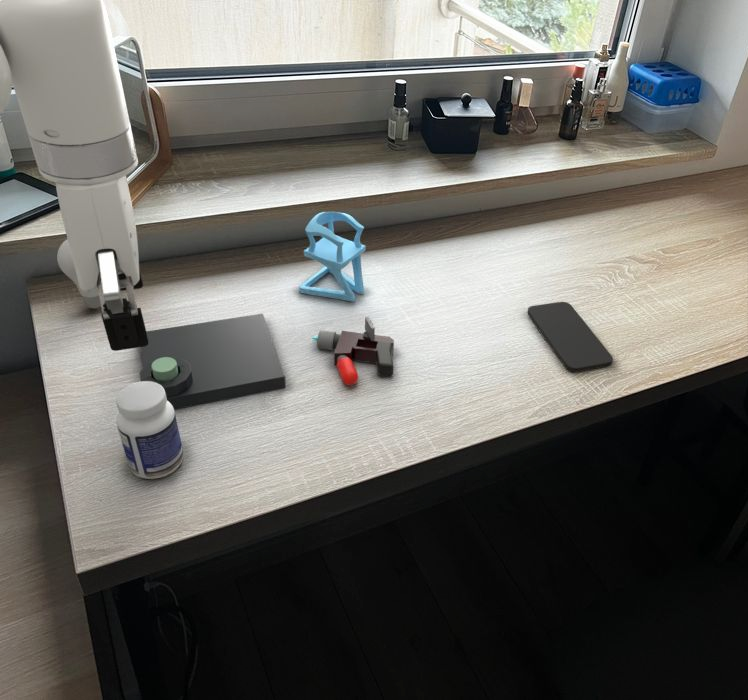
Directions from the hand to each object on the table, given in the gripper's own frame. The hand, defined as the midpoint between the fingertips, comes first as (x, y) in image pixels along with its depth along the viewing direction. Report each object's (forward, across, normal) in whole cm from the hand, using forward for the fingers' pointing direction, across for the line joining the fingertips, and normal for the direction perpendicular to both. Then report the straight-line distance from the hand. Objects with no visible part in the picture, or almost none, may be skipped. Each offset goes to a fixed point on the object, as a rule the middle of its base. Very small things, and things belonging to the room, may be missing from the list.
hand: (128, 316), depth 70 cm
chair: (+19, -27, +26) cm, 43 cm away
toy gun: (+19, -9, +24) cm, 32 cm away
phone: (+20, -7, +56) cm, 60 cm away
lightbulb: (+19, -30, -7) cm, 36 cm away
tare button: (+16, -9, +2) cm, 18 cm away
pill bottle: (+19, +2, -1) cm, 19 cm away
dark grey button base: (+19, -14, +7) cm, 24 cm away
